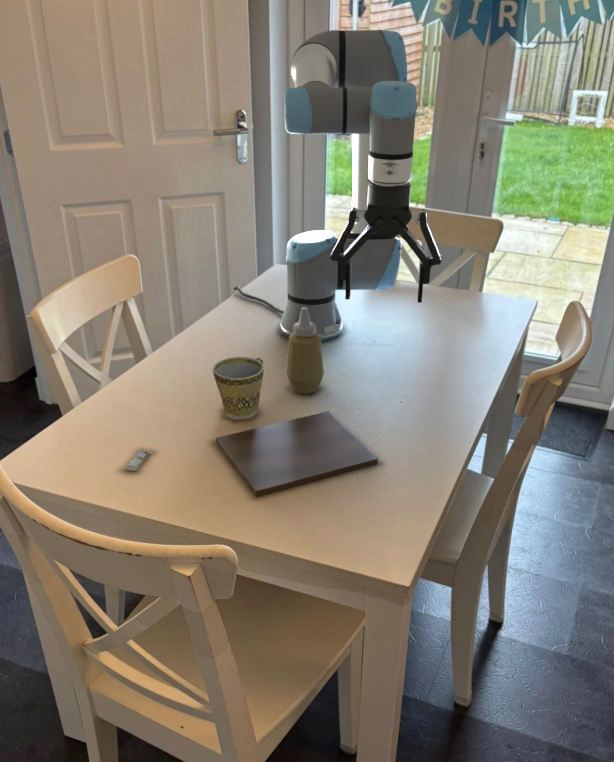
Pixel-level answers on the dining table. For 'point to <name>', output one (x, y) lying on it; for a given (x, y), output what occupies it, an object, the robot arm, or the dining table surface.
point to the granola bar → (137, 461)
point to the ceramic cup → (239, 385)
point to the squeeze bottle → (304, 356)
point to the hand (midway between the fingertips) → (383, 298)
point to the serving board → (294, 452)
